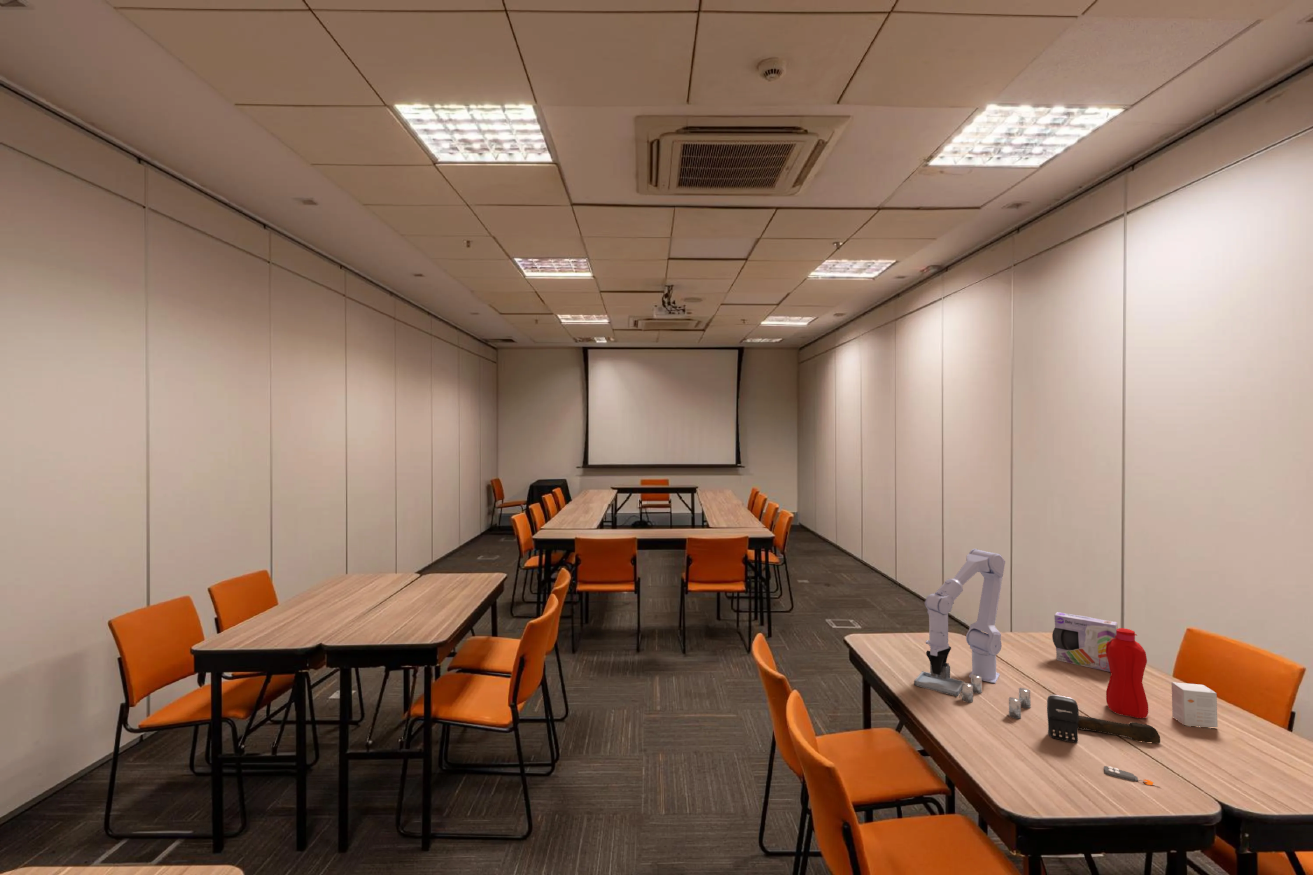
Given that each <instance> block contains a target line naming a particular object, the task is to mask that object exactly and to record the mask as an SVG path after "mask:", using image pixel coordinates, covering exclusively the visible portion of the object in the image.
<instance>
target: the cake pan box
mask: <svg viewBox="0 0 1313 875" xmlns="http://www.w3.org/2000/svg"><path fill="white" fill-rule="evenodd" d="M1053 618H1054V629H1053V631H1052V637H1051V638H1052V642H1053V645H1054V647H1055V651H1056V652H1055V653H1056V654H1055V655H1056V656H1055V657H1056V661H1059V662H1063V663H1068V664H1073V665H1077V666H1082V667H1086V668H1091V669H1094V670H1095V669H1096V670H1099V671H1105V672H1109V673H1110V668H1109V663H1108V659H1107V658H1106V643H1107V642H1108V641H1109V640H1111V639H1112V638H1114V635H1116V630H1117V629H1119V628H1118V621H1112V620H1106V619H1101V618H1095V617H1090V616H1086V615H1079V614H1078V615H1077V614H1072V613H1065V612H1060V611H1056V613H1054V617H1053ZM1104 645H1105V646H1104ZM1103 647H1104V648H1103ZM1102 649H1103V651H1102ZM1101 652H1102V654H1101ZM1100 655H1101V657H1100ZM1099 660H1100V664H1099ZM1106 665H1107V667H1106ZM1100 666H1101V667H1100ZM1105 667H1106V668H1105ZM1102 668H1105V669H1102Z"/></svg>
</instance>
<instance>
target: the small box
mask: <svg viewBox="0 0 1313 875" xmlns="http://www.w3.org/2000/svg"><path fill="white" fill-rule="evenodd" d="M1217 694H1218V693H1217V692H1215V691H1214V690H1213V689H1211V688H1209V687H1207V686H1206V685H1204V684H1199V683H1198V684H1196V683H1186V682H1174V681H1172V682H1171V708H1172V709H1171V711H1172V712H1171V714H1172V718H1173V717H1174V718H1173V719H1175V720H1176V719H1177V720H1178V721H1177V720H1176V721H1177V722H1179V723H1180V722H1181V723H1182V725H1183V724H1184V725H1188V726H1187V727H1191V726H1198V727H1197V728H1201V727H1218V726H1219V725H1218V696H1217ZM1181 723H1180V724H1181ZM1184 725H1183V726H1184ZM1199 726H1200V727H1199ZM1218 728H1219V727H1218Z"/></svg>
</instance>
